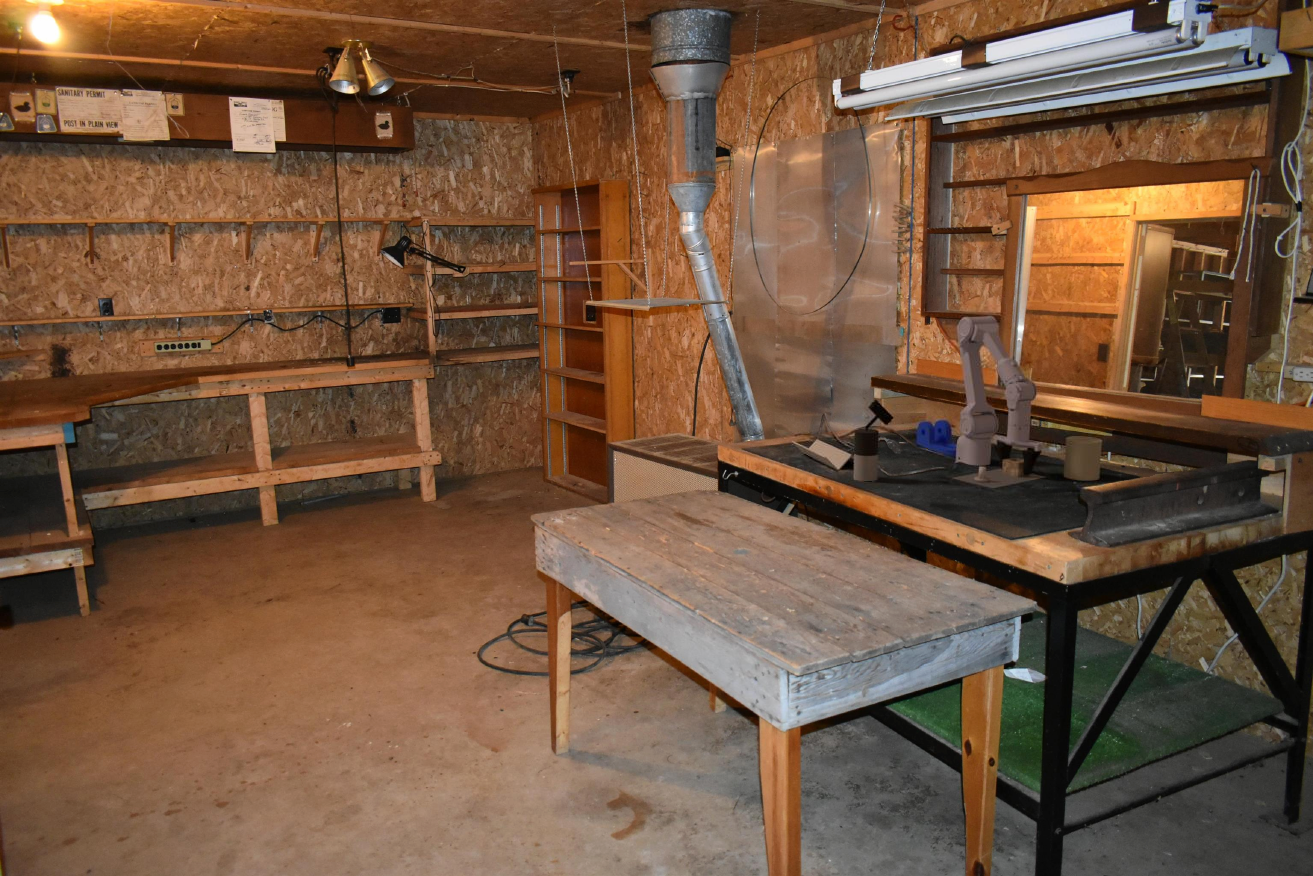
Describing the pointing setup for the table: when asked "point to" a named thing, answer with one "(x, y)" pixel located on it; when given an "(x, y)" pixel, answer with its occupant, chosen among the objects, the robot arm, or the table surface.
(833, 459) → the beige v-shaped trough
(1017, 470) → the ash collar
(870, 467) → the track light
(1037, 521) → the table surface
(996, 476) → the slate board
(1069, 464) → the can
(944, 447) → the bracket
